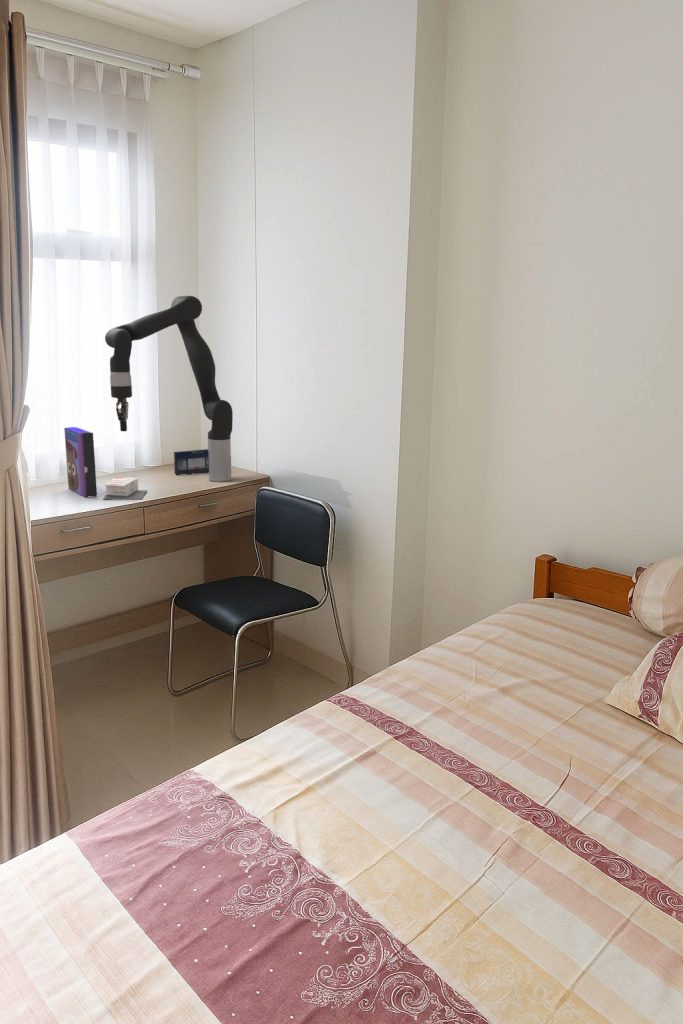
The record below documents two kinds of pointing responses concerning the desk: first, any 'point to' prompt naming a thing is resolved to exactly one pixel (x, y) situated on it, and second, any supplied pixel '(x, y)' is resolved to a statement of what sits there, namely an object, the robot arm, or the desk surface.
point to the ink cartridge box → (121, 486)
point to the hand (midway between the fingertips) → (123, 431)
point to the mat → (135, 495)
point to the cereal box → (80, 461)
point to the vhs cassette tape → (191, 462)
